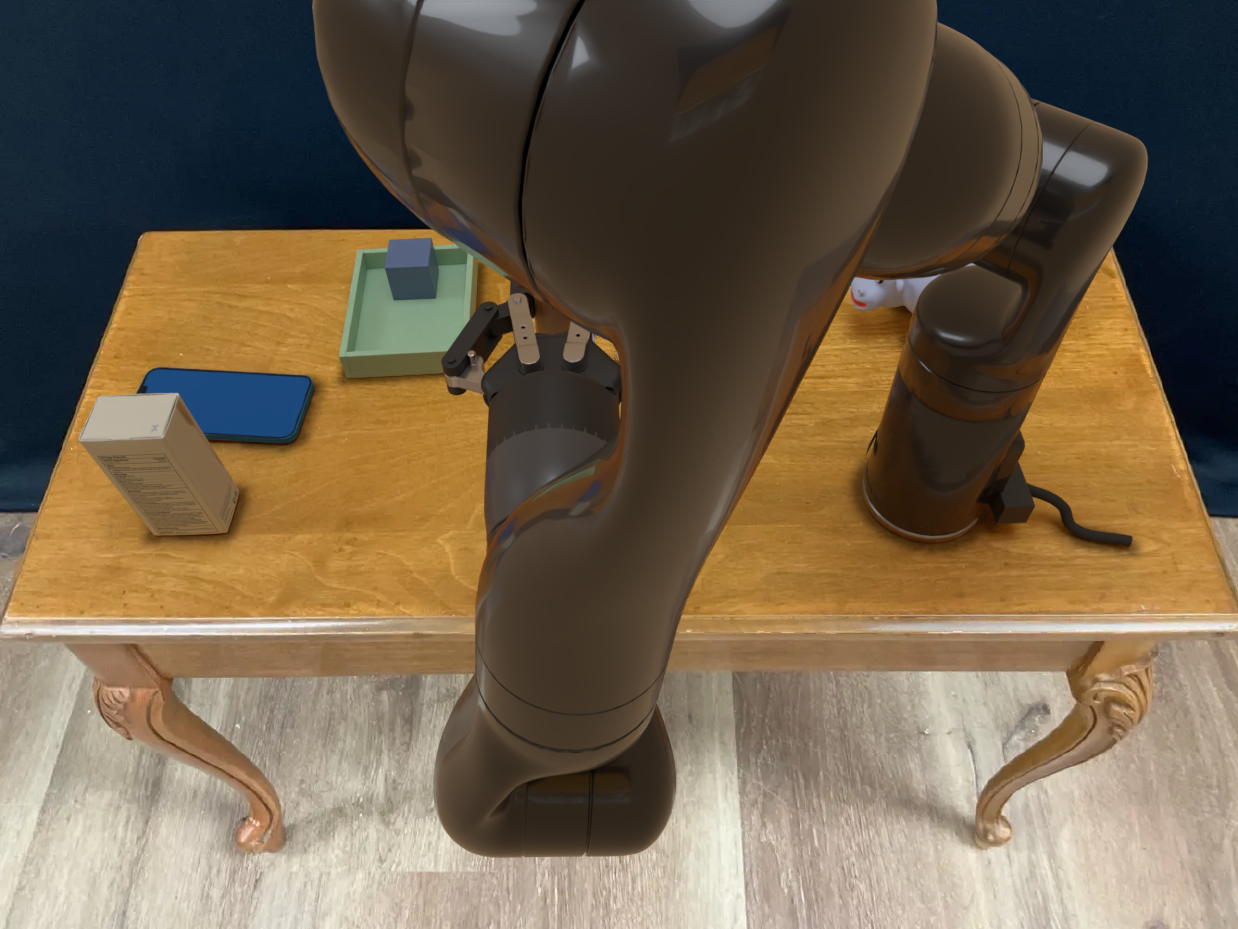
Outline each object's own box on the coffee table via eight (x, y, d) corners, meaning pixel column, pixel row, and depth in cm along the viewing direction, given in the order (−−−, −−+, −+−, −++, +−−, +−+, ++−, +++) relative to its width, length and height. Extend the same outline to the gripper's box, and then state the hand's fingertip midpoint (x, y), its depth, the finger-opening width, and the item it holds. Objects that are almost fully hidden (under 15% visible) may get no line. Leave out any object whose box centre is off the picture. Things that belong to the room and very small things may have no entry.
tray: (478, 265, 95) (474, 243, 93) (472, 372, 86) (467, 350, 84) (364, 271, 95) (357, 249, 93) (346, 378, 86) (338, 356, 84)
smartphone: (292, 440, 81) (117, 429, 82) (295, 447, 82) (122, 437, 82) (315, 374, 85) (149, 365, 86) (318, 382, 86) (153, 373, 87)
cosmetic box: (241, 490, 79) (184, 390, 69) (228, 535, 76) (167, 438, 67) (163, 492, 79) (95, 392, 69) (148, 536, 76) (75, 439, 67)
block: (439, 270, 94) (431, 237, 90) (436, 298, 91) (428, 265, 88) (397, 271, 93) (389, 239, 90) (393, 300, 91) (384, 267, 88)
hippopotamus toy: (833, 286, 92) (849, 204, 84) (990, 279, 92) (1021, 196, 84) (854, 370, 85) (874, 289, 78) (1024, 362, 86) (1060, 280, 78)
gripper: (684, 425, 50) (660, 213, 61) (413, 438, 50) (437, 224, 60) (680, 508, 56) (659, 302, 67) (438, 520, 56) (455, 312, 66)
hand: (553, 266), depth 63 cm, fingers closed on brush, 3 cm apart
